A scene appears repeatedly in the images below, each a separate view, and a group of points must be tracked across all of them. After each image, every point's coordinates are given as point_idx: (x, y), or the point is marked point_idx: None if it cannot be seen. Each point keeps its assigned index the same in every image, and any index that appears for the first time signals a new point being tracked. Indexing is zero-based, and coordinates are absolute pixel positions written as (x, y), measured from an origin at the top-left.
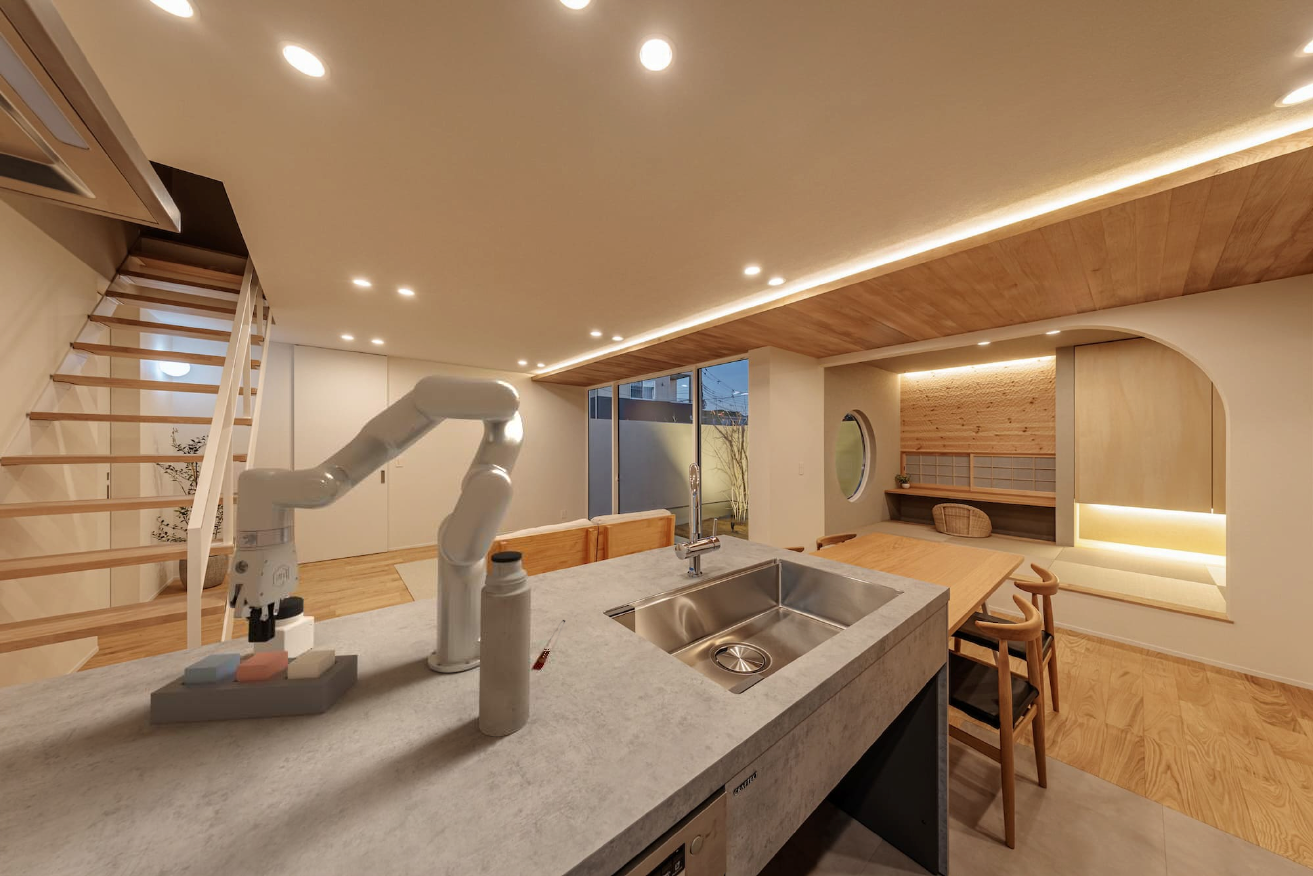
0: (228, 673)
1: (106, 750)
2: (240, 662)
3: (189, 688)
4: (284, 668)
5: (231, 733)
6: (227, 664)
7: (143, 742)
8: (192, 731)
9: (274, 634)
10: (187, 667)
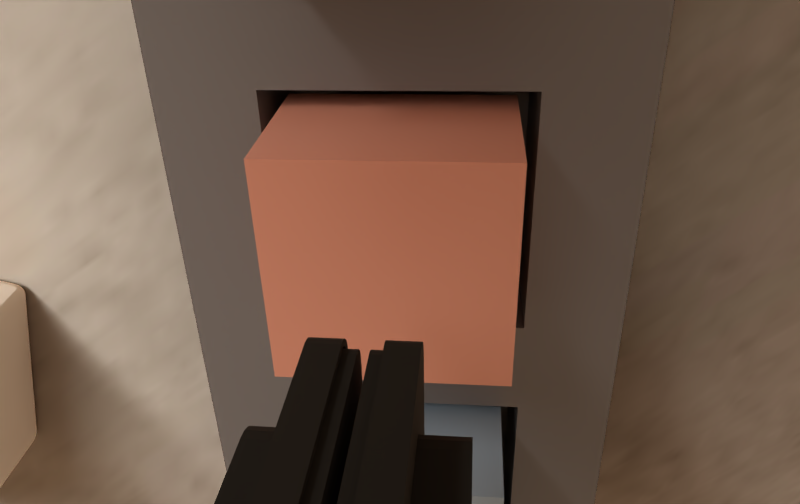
0: None
1: (728, 492)
2: None
3: (561, 493)
4: (322, 104)
5: (764, 66)
6: None
7: (709, 413)
8: (673, 283)
9: (311, 356)
10: None
